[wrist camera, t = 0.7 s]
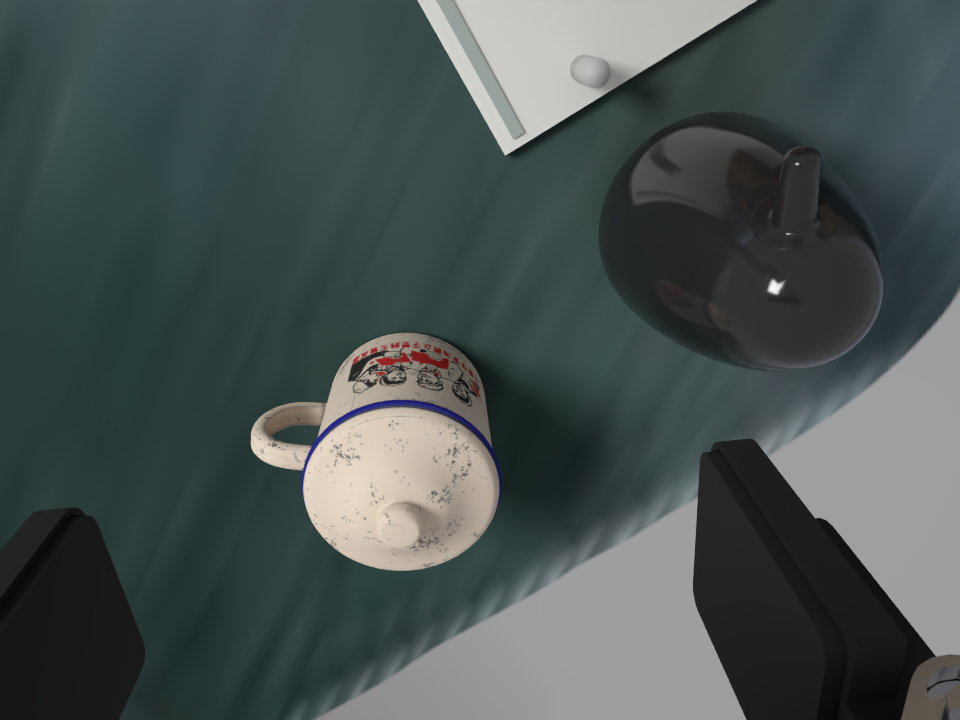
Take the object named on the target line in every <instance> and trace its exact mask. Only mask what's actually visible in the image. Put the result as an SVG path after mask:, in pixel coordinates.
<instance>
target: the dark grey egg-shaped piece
mask: <svg viewBox="0 0 960 720" xmlns="http://www.w3.org/2000/svg"><path fill="white" fill-rule="evenodd" d="M599 248H600V255H601V259H602V263H603V266H604V269H605V272H606V274H607V277H608V279H609V281H610V283H611V284H612V286H613V288H614V289H615V291H616V292H617V294H618V295H619V296H620V298H621V299H622V300H623V302H624V303H625V304H626V305H627V306H628V307H629V308H630V309H631V310H632V311H633V312H634V313H635V314H636V315H637V316H638V317H640V318H641V319H642V320H643V321H644V322H646V323H647V324H648V325H650V326H651V327H652V328H654V329H655V330H657V331H658V332H659V333H661V334H662V335H664V336H665V337H667V338H668V339H670V340H672V341H673V342H675V343H677V344H679V345H681V346H683V347H684V348H686V349H688V350H691V351H693V352H695V353H697V354H700V355H702V356H705V357H707V358H710V359H713V360H716V361H719V362H722V363H726V364H729V365H733V366H737V367H742V368H747V369H754V370H762V371H795V370H802V369H808V368H812V367H816V366H820V365H823V364H826V363H828V362H831V361H833V360H835V359H837V358H839V357H840V356H842V355H844V354H845V353H847V352H848V351H850V350H851V349H852V348H853V347H855V346H856V345H857V344H858V343H859V342H860V341H861V340H862V339H863V338H864V337H865V335H866V334H867V333H868V332H869V330H870V329H871V327H872V326H873V324H874V322H875V320H876V318H877V316H878V314H879V311H880V308H881V305H882V301H883V297H884V290H885V265H884V258H883V253H882V249H881V246H880V242H879V239H878V237H877V234H876V232H875V229H874V227H873V225H872V222H871V220H870V218H869V217H868V215H867V213H866V211H865V210H864V208H863V206H862V205H861V203H860V202H859V200H858V199H857V197H856V196H855V194H854V193H853V191H852V190H851V189H850V187H849V186H848V184H847V183H846V182H845V180H844V179H843V178H842V177H841V176H840V174H839V173H838V172H837V171H836V170H835V169H834V167H833V166H832V165H831V164H830V163H829V162H828V161H827V160H826V159H825V158H824V157H823V156H821V155H820V153H819V152H818V151H817V150H816V149H814V148H812V147H811V146H810V145H808V144H807V143H806V142H804V141H803V140H801V139H800V138H799V137H797V136H796V135H794V134H793V133H791V132H790V131H788V130H787V129H785V128H783V127H781V126H779V125H777V124H775V123H773V122H771V121H768V120H766V119H763V118H760V117H757V116H753V115H749V114H744V113H737V112H711V113H704V114H699V115H695V116H692V117H688V118H685V119H683V120H680V121H678V122H675V123H673V124H671V125H669V126H667V127H666V128H664V129H662V130H660V131H659V132H657V133H656V134H654V135H653V136H652V137H650V138H649V139H648V140H646V141H645V142H644V143H643V144H642V145H641V146H640V147H639V148H637V149H636V150H635V152H634V153H633V154H632V155H631V156H630V157H629V158H628V159H627V161H626V162H625V163H624V164H623V166H622V167H621V169H620V170H619V172H618V173H617V175H616V177H615V178H614V180H613V182H612V184H611V186H610V188H609V190H608V193H607V195H606V198H605V201H604V204H603V208H602V212H601V217H600V223H599Z"/></svg>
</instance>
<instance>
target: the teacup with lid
mask: <svg viewBox="0 0 960 720" xmlns="http://www.w3.org/2000/svg"><path fill="white" fill-rule="evenodd" d="M295 425H317V426H321V427H320V431H319V434H318V438H317V439H316V441H315V442H314V444H313V445H312V446H308V445H298V444H290V443H285V442H281V441H278V440H276V439H274V438H272V437H270V436H271V435H273V434H274V433H276V432H277V431H279V430H281V429H284V428H286V427H290V426H295ZM251 447H252V450H253V452H254V453H255V454H256V456H258V457H259V458H260V459H261V460H263V461H264V462H266V463H268V464H271V465H274V466H277V467H281V468H287V469H295V470H303V474H302V493H303V498H304V502H305V505H306V509H307V511H308V514H309V516H310V519H311V521H312V523H313V524H314V526H315V527H316V529H317V530H318V532H319V533H320V534H321V535H322V537H323V538H324V539H325V540H326V541H327V542H328V543H329V544H330V545H331V546H333V547H334V548H335V549H336V550H338V551H339V552H340V553H342V554H344V555H345V556H347V557H349V558H351V559H353V560H355V561H357V562H359V563H362V564H365V565H368V566H371V567H375V568H380V569H386V570H398V571H405V570H418V569H423V568H428V567H432V566H435V565H438V564H441V563H444V562H446V561H448V560H451V559H452V558H454V557H456V556H458V555H459V554H461V553H463V552H464V551H465V550H467V549H468V548H469V547H470V546H472V545H473V544H474V543H475V542H476V541H477V540H478V539H479V538H480V537H481V535H482V534H483V533H484V532H485V530H486V529H487V527H488V526H489V524H490V522H491V521H492V519H493V516H494V514H495V512H496V509H497V507H498V504H499V500H500V495H501V483H502V482H501V472H500V467H499V463H498V460H497V457H496V455H495V453H494V451H493V449H492V444H491V437H490V430H489V422H488V415H487V408H486V400H485V393H484V388H483V385H482V381H481V379H480V377H479V374H478V372H477V371H476V369H475V367H474V366H473V365H472V363H471V362H470V361H469V360H468V358H467V357H466V356H465V355H464V354H463V353H461V352H460V351H459V350H458V349H456V348H455V347H454V346H452V345H450V344H449V343H447V342H445V341H443V340H440V339H438V338H435V337H432V336H428V335H424V334H418V333H396V334H390V335H386V336H382V337H379V338H376V339H374V340H371V341H369V342H367V343H365V344H364V345H362V346H361V347H359V348H358V349H357V350H355V351H354V352H353V353H352V354H351V355H350V356H349V357H348V358H347V359H346V360H345V361H344V363H343V364H342V365H341V367H340V368H339V370H338V372H337V374H336V376H335V379H334V381H333V384H332V388H331V392H330V395H329V399H328V402H327V403H314V402H297V403H289V404H285V405H281V406H278V407H276V408H274V409H272V410H270V411H268V412H266V413H265V414H263V415H262V416H261V417H260V418H259V419H258V420H257V421H256V423H255V424H254V426H253V429H252V432H251Z"/></svg>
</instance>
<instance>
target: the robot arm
mask: <svg viewBox="0 0 960 720" xmlns="http://www.w3.org/2000/svg"><path fill="white" fill-rule="evenodd" d="M693 593H694V598H695V602H696V607H697V609H698V612H699V614H700V616H701V619H702V620H703V623H704V625H705V628H706V630H707V632H708V634H709V637H710V639H711V641H712V643H713V645H714V648H715V650H716V652H717V654H718V657H719V659H720V661H721V663H722V665H723V668H724V670H725V672H726V675H727V677H728V679H729V681H730V684H731V686H732V688H733V690H734V692H735V695H736V697H737V699H738V701H739V704H740V706H741V708H742V710H743V713H744V715H745V717H746V719H747V720H960V655H943V656H938V657H936V656H935V655H934V653H933V652H932V651H931V650H930V648H929V647H928V646H927V645H926V643H925V642H924V641H923V640H922V638H921V637H920V636H919V634H918V633H917V632H916V631H915V629H914V628H913V627H912V626H911V625H910V623H909V622H908V621H907V619H906V618H905V617H904V616H903V614H902V613H901V612H900V611H899V609H898V608H897V607H896V606H895V604H894V603H893V602H892V600H891V599H890V598H889V597H888V596H887V594H886V593H885V592H884V590H883V589H882V588H881V587H880V585H879V584H878V583H877V581H876V580H875V579H874V578H873V576H872V575H871V574H870V573H869V571H868V570H867V569H866V568H865V566H864V565H863V564H862V563H861V561H860V560H859V559H858V558H857V556H856V555H855V554H854V553H853V551H852V550H851V549H850V547H849V546H848V545H847V544H846V542H845V541H844V540H843V539H842V537H841V536H840V535H839V534H838V533H837V531H836V530H835V529H834V527H833V526H832V525H831V524H830V523H828V522H827V521H826V520H824V519H821V518H816V519H815V518H814V517H813V515H812V514H811V513H810V511H809V510H808V509H807V507H806V506H805V505H804V503H803V502H802V501H801V500H800V498H799V497H798V496H797V495H796V493H795V492H794V490H793V489H792V488H791V487H790V485H789V484H788V483H787V481H786V480H785V479H784V478H783V476H782V475H781V474H780V472H779V471H778V470H777V468H776V467H775V466H774V465H773V463H772V462H771V461H770V459H769V458H768V457H767V455H766V454H765V453H764V451H763V450H762V449H761V448H760V446H759V445H758V444H757V442H755V441H754V440H753V439H742V440H732V441H722V442H715V443H714V444H713V446H712V449H711V452H707V453H703V454H702V455H701V459H700V472H699V489H698V507H697V525H696V543H695V560H694V576H693ZM144 659H145V647H144V643H143V640H142V637H141V635H140V632H139V630H138V627H137V624H136V622H135V619H134V617H133V614H132V612H131V609H130V606H129V604H128V601H127V599H126V596H125V594H124V591H123V588H122V586H121V583H120V581H119V578H118V576H117V573H116V570H115V568H114V565H113V563H112V560H111V558H110V555H109V553H108V550H107V547H106V545H105V542H104V540H103V537H102V535H101V532H100V529H99V527H98V524H97V522H96V520H95V519H94V518H93V517H92V516H89V515H87V516H85V514H84V512H83V511H81V510H80V509H79V508H75V507H72V508H62V509H52V510H43V511H37V512H34V513H33V514H32V515H31V516H29V517H28V519H27V520H26V521H25V522H24V523H23V525H22V526H21V527H20V528H19V529H18V531H17V532H16V533H15V534H14V535H13V537H12V538H11V539H10V540H9V541H8V543H7V544H6V545H5V546H4V548H3V549H2V550H1V551H0V720H119V718H120V716H121V713H122V711H123V709H124V707H125V705H126V703H127V700H128V698H129V696H130V694H131V692H132V689H133V687H134V685H135V683H136V681H137V679H138V676H139V674H140V672H141V670H142V667H143V664H144Z"/></svg>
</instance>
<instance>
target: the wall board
mask: <svg viewBox="0 0 960 720" xmlns="http://www.w3.org/2000/svg"><path fill="white" fill-rule="evenodd" d="M755 1H757V0H418V2H419V4H420V6H421V7H422V9H423V11H424V13H425V14H426V16H427V18H428V20H429V22H430V23H431V25H432V27H433V29H434V30H435V32H436V34H437V36H438V37H439V39H440V41H441V43H442V45H443V46H444V48H445V50H446V52H447V53H448V55H449V57H450V59H451V60H452V62H453V64H454V66H455V68H456V69H457V71H458V73H459V75H460V76H461V78H462V80H463V82H464V83H465V85H466V87H467V89H468V91H469V92H470V94H471V96H472V98H473V99H474V101H475V103H476V105H477V106H478V108H479V110H480V112H481V114H482V115H483V117H484V119H485V121H486V122H487V124H488V126H489V128H490V129H491V131H492V133H493V135H494V137H495V138H496V140H497V142H498V144H499V145H500V147H501V149H502V151H503V152H504V154H505V156H506V155H507V154H509V153H510V152H512V151H514V150H515V149H517V148H519V147H520V146H522V145H523V144H525V143H527V142H528V141H530V140H531V139H533V138H535V137H536V136H538V135H540V134H541V133H543V132H544V131H546V130H548V129H549V128H551V127H553V126H554V125H556V124H557V123H559V122H561V121H562V120H564V119H566V118H567V117H569V116H570V115H572V114H574V113H575V112H577V111H579V110H580V109H582V108H583V107H585V106H587V105H588V104H590V103H591V102H593V101H595V100H596V99H598V98H600V97H601V96H603V95H604V94H606V93H608V92H609V91H611V90H613V89H614V88H616V87H617V86H619V85H621V84H622V83H624V82H626V81H627V80H629V79H630V78H632V77H634V76H635V75H637V74H638V73H640V72H642V71H643V70H645V69H647V68H648V67H650V66H651V65H653V64H655V63H656V62H658V61H660V60H661V59H663V58H664V57H666V56H668V55H669V54H671V53H673V52H674V51H676V50H677V49H679V48H681V47H682V46H684V45H686V44H687V43H689V42H690V41H692V40H694V39H695V38H697V37H698V36H700V35H702V34H703V33H705V32H707V31H708V30H710V29H711V28H713V27H715V26H716V25H718V24H720V23H721V22H723V21H724V20H726V19H728V18H729V17H731V16H733V15H734V14H736V13H737V12H739V11H741V10H742V9H744V8H745V7H747V6H749V5H750V4H752V3H754V2H755Z"/></svg>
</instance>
